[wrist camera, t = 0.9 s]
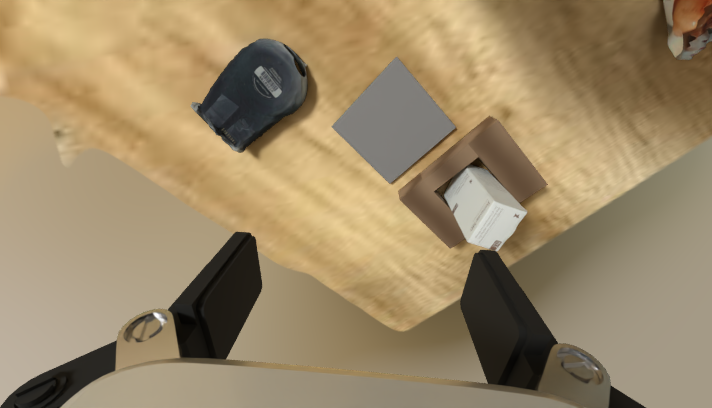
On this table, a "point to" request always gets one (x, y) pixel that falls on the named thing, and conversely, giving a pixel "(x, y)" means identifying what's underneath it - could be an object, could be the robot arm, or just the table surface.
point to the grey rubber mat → (393, 122)
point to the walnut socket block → (479, 143)
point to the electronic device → (254, 93)
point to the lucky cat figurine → (688, 26)
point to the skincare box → (483, 207)
